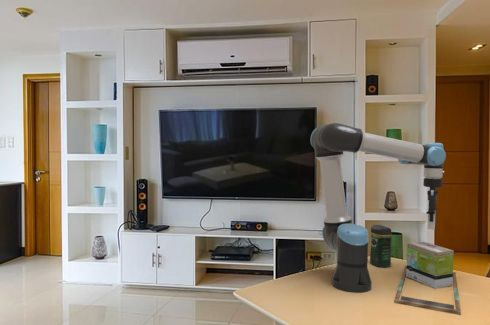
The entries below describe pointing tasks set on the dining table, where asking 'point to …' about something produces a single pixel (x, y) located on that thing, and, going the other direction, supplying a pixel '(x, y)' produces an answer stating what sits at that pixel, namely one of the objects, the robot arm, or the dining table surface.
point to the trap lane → (426, 303)
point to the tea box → (430, 264)
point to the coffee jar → (380, 246)
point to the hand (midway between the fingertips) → (431, 226)
